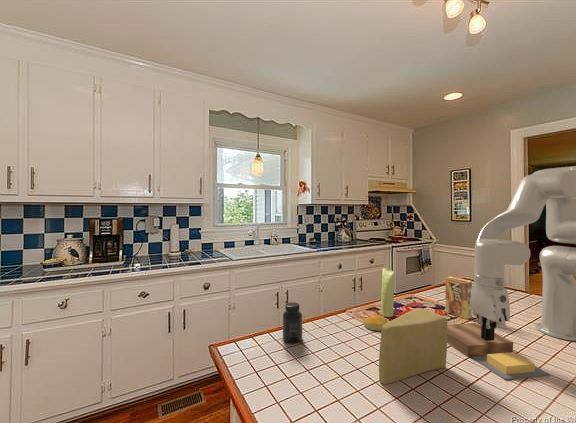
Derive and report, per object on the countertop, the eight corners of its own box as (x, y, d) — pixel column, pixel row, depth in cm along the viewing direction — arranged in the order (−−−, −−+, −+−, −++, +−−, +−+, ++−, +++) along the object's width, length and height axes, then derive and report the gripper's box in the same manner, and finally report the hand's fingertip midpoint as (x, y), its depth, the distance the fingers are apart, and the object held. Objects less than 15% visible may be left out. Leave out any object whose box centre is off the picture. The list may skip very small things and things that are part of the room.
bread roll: (359, 325, 104) (359, 315, 104) (375, 320, 109) (375, 310, 109) (376, 334, 97) (376, 323, 97) (392, 328, 102) (392, 317, 102)
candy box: (472, 317, 111) (472, 280, 111) (467, 319, 109) (468, 282, 109) (449, 310, 119) (450, 276, 118) (444, 312, 116) (445, 277, 116)
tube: (396, 314, 114) (396, 268, 114) (393, 318, 110) (394, 271, 109) (382, 311, 117) (382, 267, 117) (379, 315, 113) (379, 269, 112)
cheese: (396, 395, 65) (397, 334, 65) (366, 374, 74) (367, 319, 73) (448, 368, 76) (449, 316, 76) (416, 352, 85) (417, 305, 85)
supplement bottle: (305, 336, 95) (305, 302, 94) (297, 345, 88) (297, 309, 88) (287, 332, 97) (287, 299, 97) (279, 341, 91) (279, 306, 91)
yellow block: (534, 363, 74) (534, 371, 74) (513, 352, 80) (513, 359, 80) (506, 366, 73) (505, 374, 73) (486, 354, 79) (486, 361, 79)
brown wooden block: (475, 332, 98) (475, 322, 98) (512, 353, 84) (513, 342, 84) (435, 335, 96) (435, 325, 96) (467, 357, 82) (468, 345, 82)
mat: (511, 354, 84) (511, 352, 84) (549, 375, 73) (549, 373, 73) (471, 357, 82) (471, 356, 82) (505, 380, 71) (505, 378, 71)
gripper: (523, 287, 77) (522, 351, 77) (478, 274, 92) (477, 327, 92) (500, 289, 76) (499, 353, 76) (459, 275, 91) (458, 329, 91)
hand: (487, 339), depth 84 cm, fingers closed
